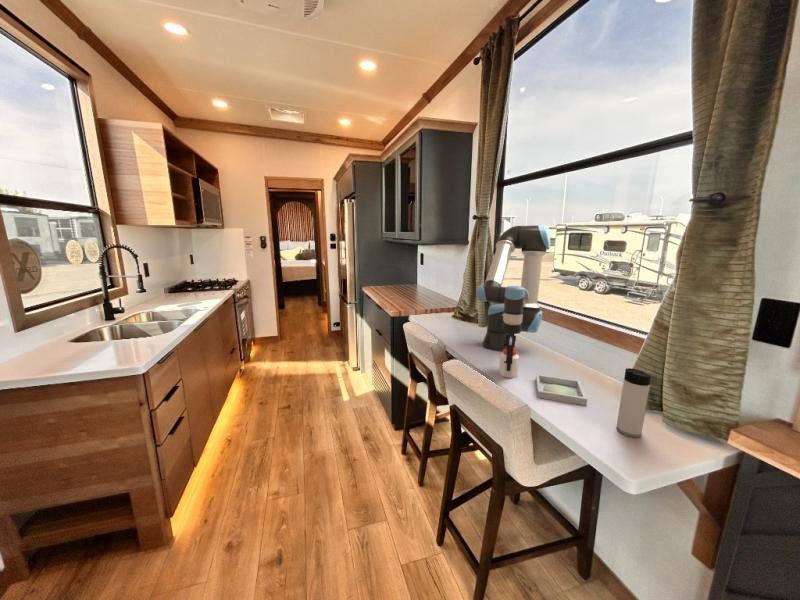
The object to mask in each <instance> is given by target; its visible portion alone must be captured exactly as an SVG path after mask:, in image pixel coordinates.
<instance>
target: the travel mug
mask: <svg viewBox="0 0 800 600" xmlns="http://www.w3.org/2000/svg"><path fill="white" fill-rule="evenodd" d="M624 371H625V372H624V377H623V382H622V390H621V395H620V401H619V408H618V414H617V420H616V422H617V423H616V430H617V432H619V433H620V434H622V435H624V436H626V437H629V436H630V438H640V437H641V436H642V432H643V427H644V423H645V422H644V421H645V415H646V412H647V411H646V410H647V404H648V398H649V392H650V386H651V380H652V375H651V374H648V373H645V371H643V370H640V369H636V368H628V367H627V368H625V370H624Z"/></svg>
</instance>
